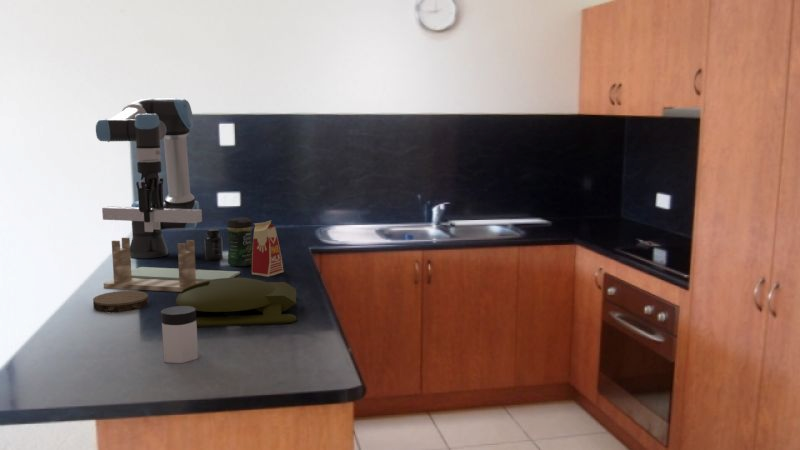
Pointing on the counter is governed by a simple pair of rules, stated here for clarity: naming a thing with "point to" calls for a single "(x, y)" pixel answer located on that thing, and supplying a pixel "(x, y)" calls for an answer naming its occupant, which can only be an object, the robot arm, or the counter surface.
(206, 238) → the supplement bottle
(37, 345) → the counter surface
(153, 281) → the rail rack
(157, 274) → the sage mat
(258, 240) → the milk carton
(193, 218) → the steel rail
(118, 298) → the wooden log slice
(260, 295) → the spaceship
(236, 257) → the coffee jar
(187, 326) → the jar
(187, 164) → the robot arm
